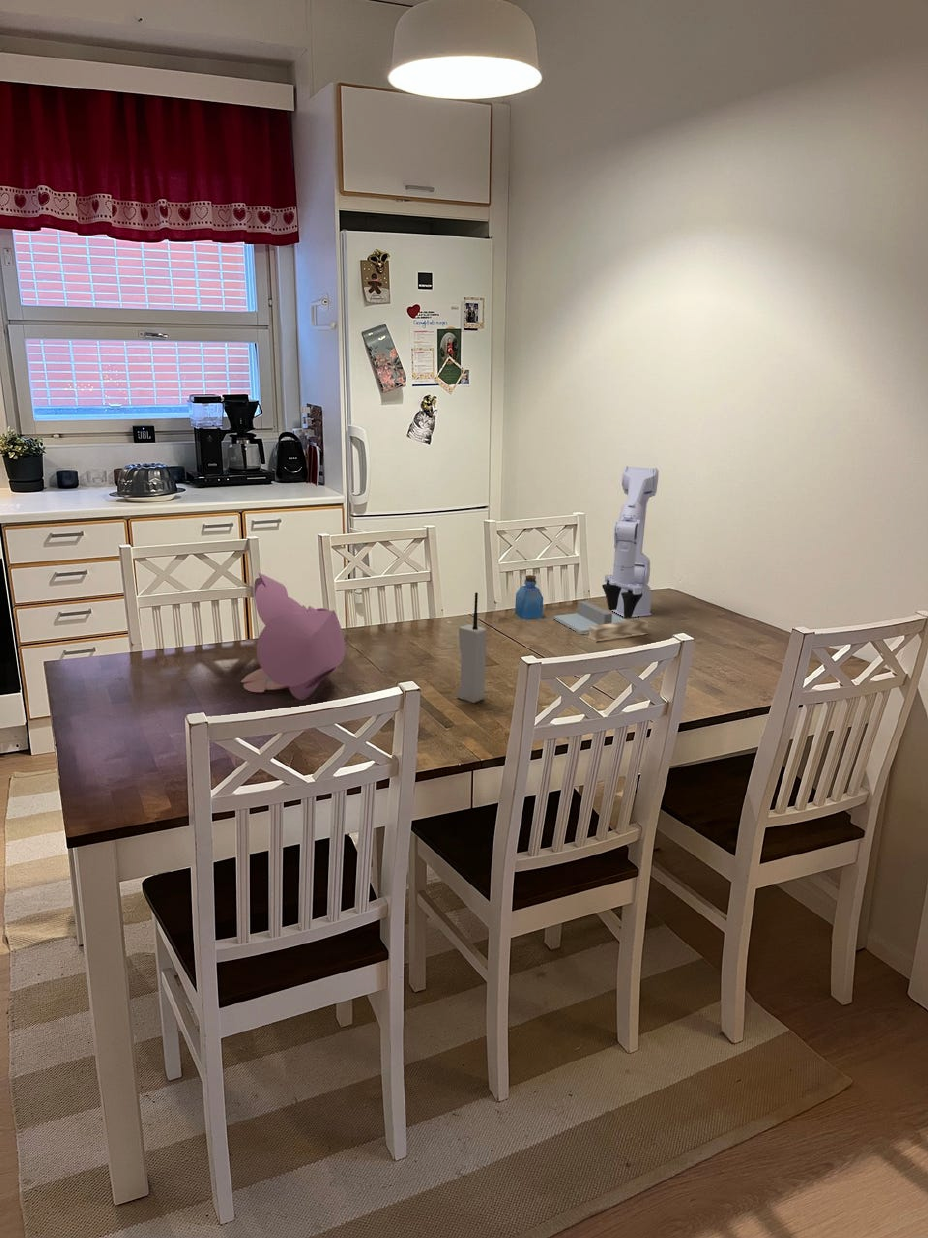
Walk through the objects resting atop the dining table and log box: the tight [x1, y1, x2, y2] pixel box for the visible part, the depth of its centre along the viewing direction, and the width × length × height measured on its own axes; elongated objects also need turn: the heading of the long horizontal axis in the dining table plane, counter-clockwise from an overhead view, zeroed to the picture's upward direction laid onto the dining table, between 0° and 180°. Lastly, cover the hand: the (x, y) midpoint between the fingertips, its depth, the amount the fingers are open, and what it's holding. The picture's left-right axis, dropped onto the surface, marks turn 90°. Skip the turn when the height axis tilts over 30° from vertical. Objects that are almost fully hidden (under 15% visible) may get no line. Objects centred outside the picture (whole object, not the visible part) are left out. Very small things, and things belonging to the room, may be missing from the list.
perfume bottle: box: [514, 574, 544, 620], centre depth 270 cm, size 6×6×12 cm
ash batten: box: [588, 618, 649, 640], centre depth 254 cm, size 18×3×4 cm, turn 118°
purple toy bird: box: [240, 572, 347, 701], centre depth 210 cm, size 35×24×28 cm
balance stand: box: [553, 600, 628, 633], centre depth 265 cm, size 18×15×5 cm
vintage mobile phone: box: [456, 592, 488, 704], centre depth 204 cm, size 4×5×25 cm
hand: (620, 613), depth 253 cm, fingers open, 7 cm apart
